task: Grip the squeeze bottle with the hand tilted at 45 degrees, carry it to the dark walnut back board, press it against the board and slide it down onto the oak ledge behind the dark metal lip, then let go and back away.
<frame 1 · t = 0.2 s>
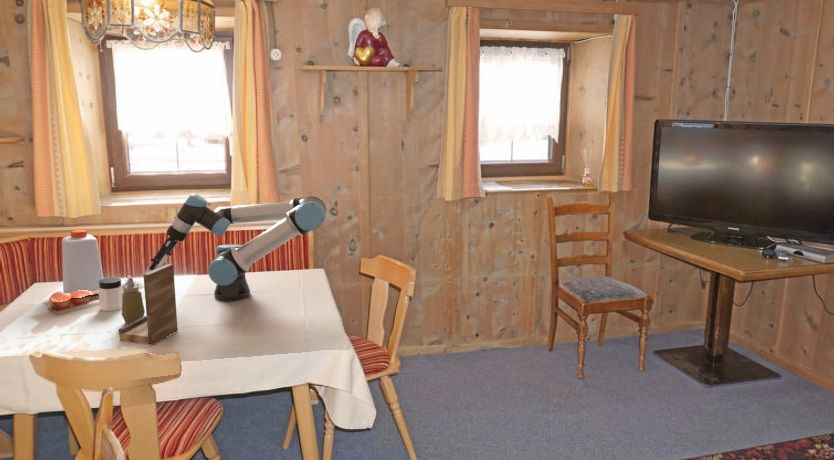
hand: (152, 271, 251), 16 cm above the table, tool tilted 35°, fingers open, 13 cm apart
plastic bottle: (84, 293, 271), on the table
jar: (112, 308, 253), on the table
squeeze bottle: (134, 322, 238), on the table
wall board: (149, 335, 225), on the table
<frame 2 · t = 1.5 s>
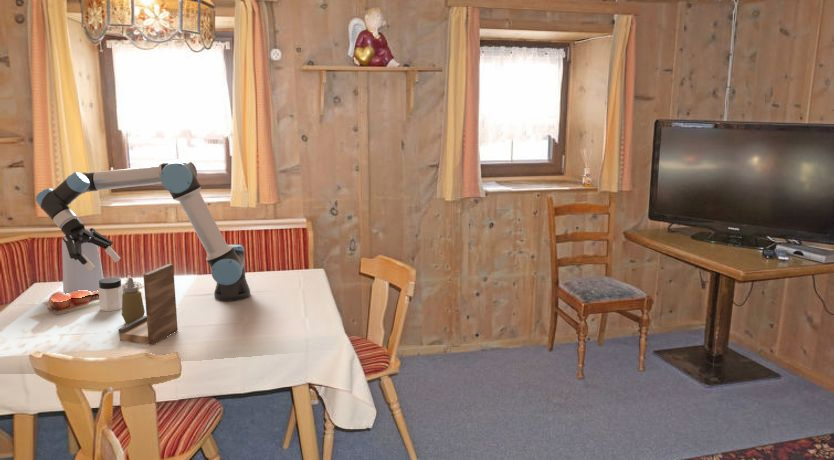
hand: (105, 264, 236), 22 cm above the table, tool tilted 45°, fingers open, 13 cm apart
nothing on the table moved.
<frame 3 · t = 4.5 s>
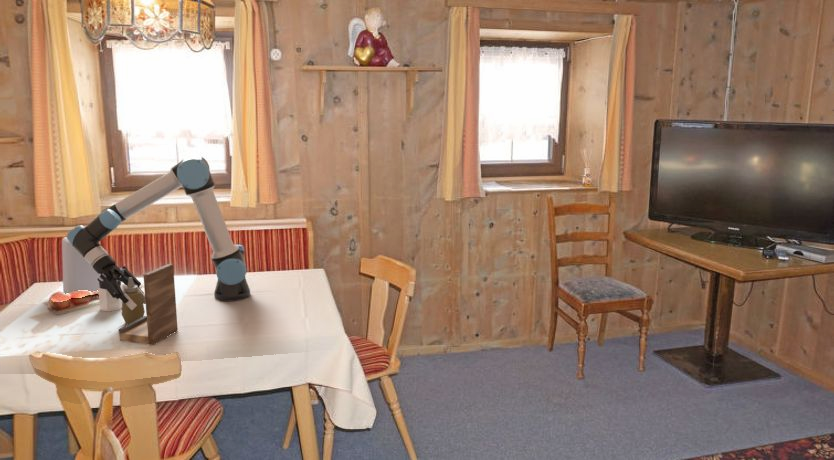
hand: (140, 304, 236), 7 cm above the table, tool tilted 45°, fingers closed on squeeze bottle, 6 cm apart
squeeze bottle: (134, 322, 238), on the table, touching gripper
everything else where it was.
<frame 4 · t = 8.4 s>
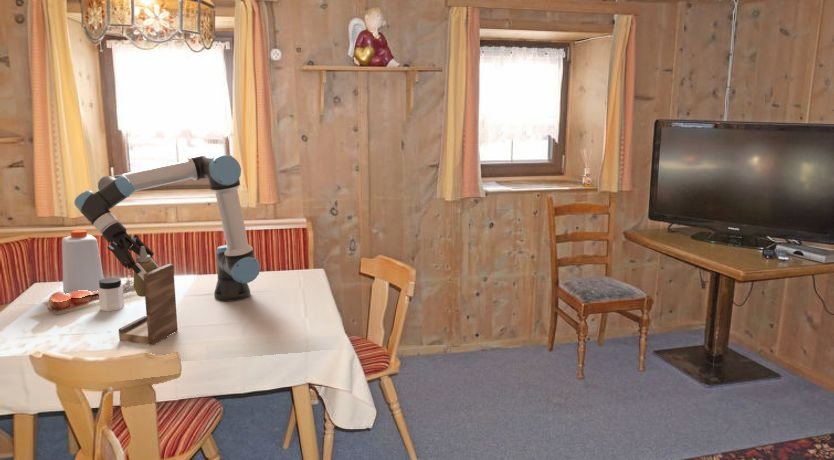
hand: (153, 275, 219), 23 cm above the table, tool tilted 45°, fingers closed on squeeze bottle, wall board, 6 cm apart
squeeze bottle: (146, 295, 222), point 16 cm above the table, touching gripper
everything else where it was.
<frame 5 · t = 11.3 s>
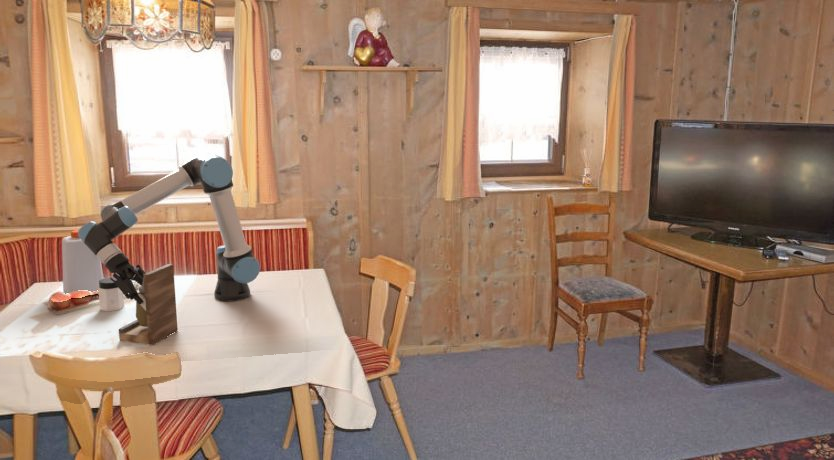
hand: (155, 306, 222), 12 cm above the table, tool tilted 45°, fingers closed on squeeze bottle, wall board, 6 cm apart
squeeze bottle: (148, 324, 224), point 4 cm above the table, touching gripper
everything else where it was.
when the fingers open (12 cm above the table, at t = 11.5 s): squeeze bottle drops 1 cm, resting on wall board.
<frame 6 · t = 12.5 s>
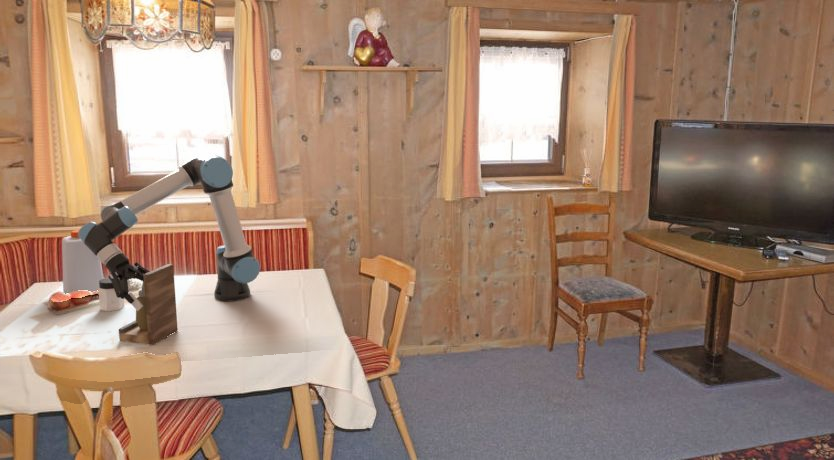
hand: (153, 302, 222), 13 cm above the table, tool tilted 45°, fingers open, 13 cm apart
squeeze bottle: (148, 328, 224), point 3 cm above the table, touching wall board
everything else where it was.
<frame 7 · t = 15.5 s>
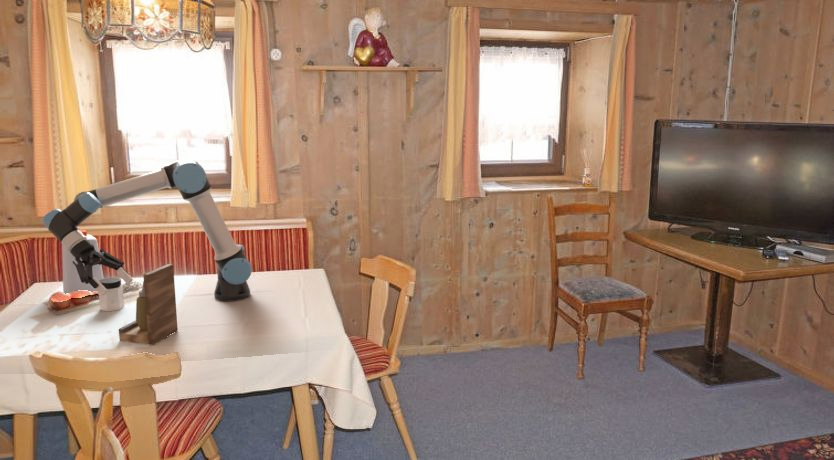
hand: (118, 287, 226), 17 cm above the table, tool tilted 45°, fingers open, 13 cm apart
nothing on the table moved.
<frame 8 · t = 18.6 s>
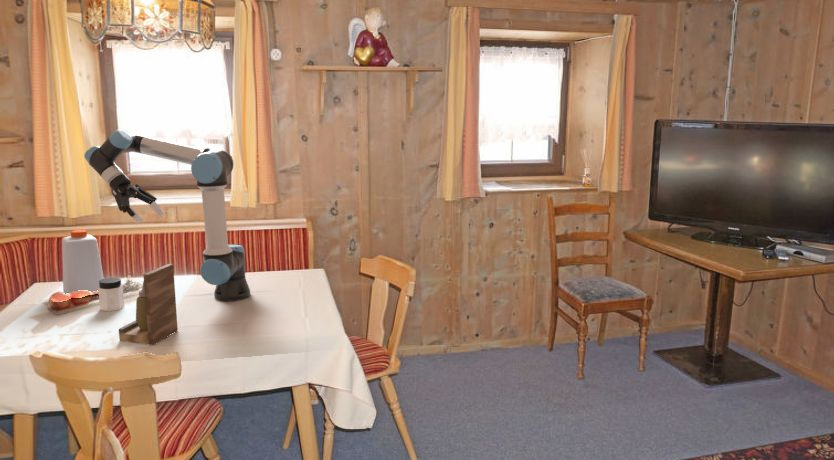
hand: (151, 218, 247), 38 cm above the table, tool tilted 45°, fingers open, 13 cm apart
nothing on the table moved.
at the end: squeeze bottle inside the target area on the wall board (0.1 cm from its centre), point 2.8 cm above the wall board's base; squeeze bottle tilted 0°; the gripper is holding nothing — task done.
